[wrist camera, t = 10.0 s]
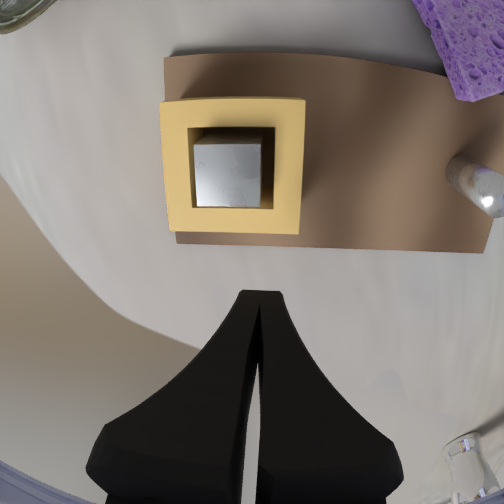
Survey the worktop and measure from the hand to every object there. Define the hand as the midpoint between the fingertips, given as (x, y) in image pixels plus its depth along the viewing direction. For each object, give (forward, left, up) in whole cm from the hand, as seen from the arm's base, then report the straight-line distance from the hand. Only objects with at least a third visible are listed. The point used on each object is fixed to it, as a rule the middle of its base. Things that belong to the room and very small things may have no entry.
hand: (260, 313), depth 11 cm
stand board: (-5, -4, -8) cm, 10 cm away
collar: (+1, -4, -7) cm, 8 cm away
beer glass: (-28, +31, -8) cm, 43 cm away
